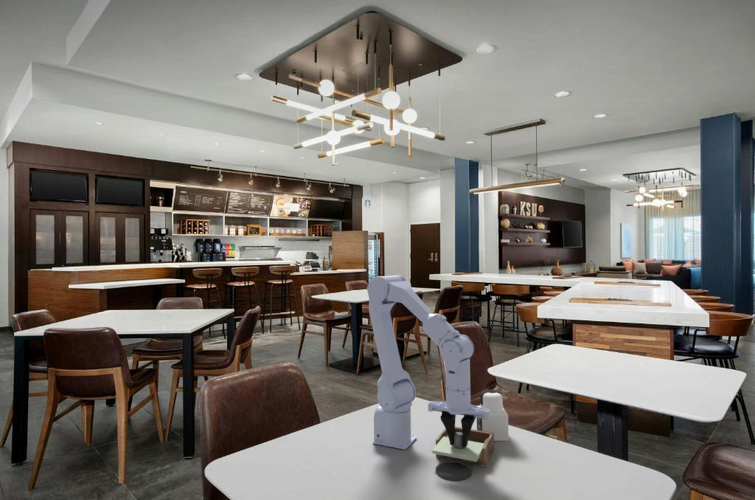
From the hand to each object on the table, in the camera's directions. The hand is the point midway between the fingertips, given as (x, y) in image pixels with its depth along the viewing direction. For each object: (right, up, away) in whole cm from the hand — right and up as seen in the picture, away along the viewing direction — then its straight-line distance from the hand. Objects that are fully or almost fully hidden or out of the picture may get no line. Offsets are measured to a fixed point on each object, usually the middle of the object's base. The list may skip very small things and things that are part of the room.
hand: (458, 444), depth 105 cm
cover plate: (0, -1, 0) cm, 1 cm away
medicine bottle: (+12, -4, +15) cm, 20 cm away
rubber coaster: (-2, -4, -4) cm, 6 cm away
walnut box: (+3, -4, +5) cm, 7 cm away
